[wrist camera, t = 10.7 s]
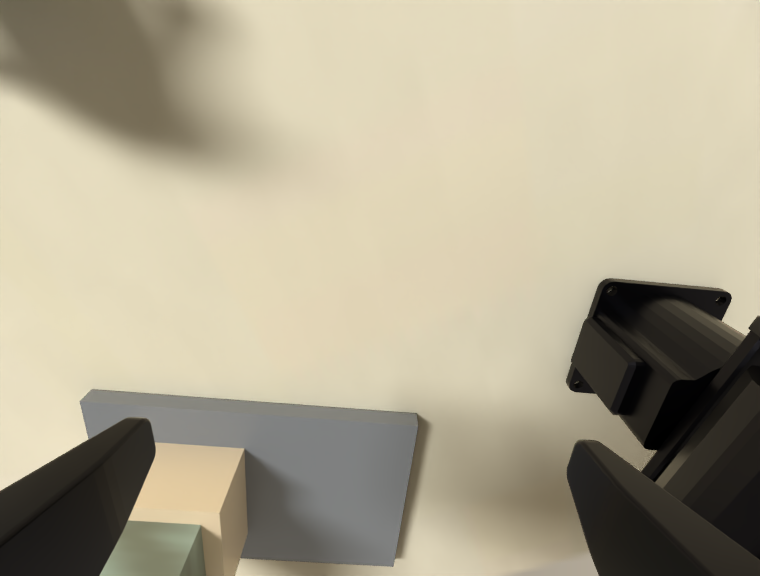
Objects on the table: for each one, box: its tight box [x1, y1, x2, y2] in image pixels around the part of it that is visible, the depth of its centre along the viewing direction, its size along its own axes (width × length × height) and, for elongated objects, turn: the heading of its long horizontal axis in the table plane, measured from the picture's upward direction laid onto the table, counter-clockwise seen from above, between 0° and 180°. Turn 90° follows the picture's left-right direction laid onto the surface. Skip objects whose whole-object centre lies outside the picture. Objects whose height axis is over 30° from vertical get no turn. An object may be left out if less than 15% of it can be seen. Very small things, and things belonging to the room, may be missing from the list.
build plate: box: [80, 390, 418, 576], centre depth 23 cm, size 18×12×5 cm, turn 84°
